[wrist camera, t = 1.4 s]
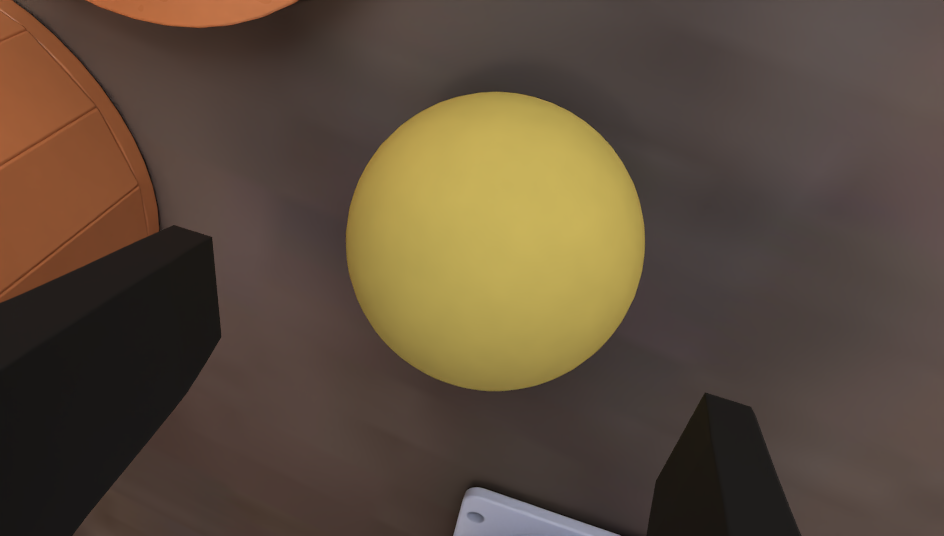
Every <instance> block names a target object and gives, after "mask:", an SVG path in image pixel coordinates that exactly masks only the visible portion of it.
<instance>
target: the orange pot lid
mask: <svg viewBox="0 0 944 536" xmlns="http://www.w3.org/2000/svg"><path fill="white" fill-rule="evenodd" d="M86 1H88V2H90V3H92V4H95V5H97V6H99V7H101V8H104V9H107V10H110V11H113V12H116V13H118V14H121V15H124V16H127V17H130V18H133V19H137V20H142V21H147V22H151V23H156V24H161V25H166V26H178V27H193V28H206V27H217V26H229V25H235V24H239V23H243V22H247V21H251V20H254V19H258V18H262V17H265V16H267V15H269V14H272V13H274V12H276V11H278V10H281V9H283V8H285V7H287V6H289V5H292V4H294V3H295V2H297V1H298V0H86Z"/></svg>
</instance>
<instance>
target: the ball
mask: <svg viewBox="0 0 944 536" xmlns="http://www.w3.org/2000/svg"><path fill="white" fill-rule="evenodd" d="M644 252H645V230H644V221H643V216H642V211H641V206H640V201H639V198H638V195H637V192H636V189H635V186H634V183H633V181H632V180H631V178H630V176H629V174H628V172H627V170H626V168H625V166H624V164H623V163H622V161H621V159H620V158H619V157H618V155H617V154H616V152H615V151H614V150H613V148H612V147H611V146H610V145H609V143H608V142H607V141H606V140H605V139H604V138H603V137H602V136H601V135H600V134H599V133H598V132H597V131H596V130H595V129H593V128H592V127H591V126H590V125H589V124H587V123H586V122H585V121H583V120H582V119H580V118H579V117H577V116H576V115H574V114H573V113H571V112H570V111H568V110H566V109H563V108H561V107H559V106H557V105H555V104H553V103H551V102H548V101H545V100H542V99H539V98H536V97H532V96H527V95H523V94H518V93H508V92H480V93H475V94H469V95H464V96H459V97H455V98H452V99H449V100H446V101H443V102H440V103H438V104H436V105H434V106H432V107H430V108H428V109H426V110H424V111H422V112H420V113H418V114H417V115H415V116H413V117H412V118H411V119H409V120H408V121H406V122H405V123H404V124H402V125H401V126H400V127H399V128H398V129H397V130H396V131H395V132H394V133H393V134H392V135H391V136H390V137H389V138H387V139H386V140H385V141H384V142H383V143H382V144H381V146H380V147H379V148H378V150H377V151H376V153H375V154H374V155H373V157H372V158H371V160H370V161H369V163H368V164H367V166H366V167H365V169H364V171H363V173H362V175H361V177H360V179H359V181H358V184H357V187H356V189H355V192H354V195H353V198H352V201H351V205H350V208H349V215H348V222H347V230H346V254H347V264H348V269H349V275H350V278H351V281H352V285H353V288H354V291H355V294H356V297H357V300H358V302H359V304H360V306H361V308H362V310H363V312H364V314H365V315H366V317H367V319H368V320H369V322H370V324H371V325H372V327H373V328H374V330H375V331H376V332H377V334H378V335H379V336H380V337H381V339H382V340H383V341H384V342H385V343H386V344H387V345H388V346H389V347H390V348H391V349H392V350H393V351H394V352H395V353H396V354H397V355H399V356H400V357H401V358H402V359H404V360H405V361H406V362H408V363H409V364H410V365H412V366H413V367H415V368H417V369H418V370H420V371H422V372H424V373H425V374H427V375H429V376H431V377H434V378H436V379H438V380H441V381H443V382H446V383H449V384H452V385H456V386H459V387H463V388H469V389H474V390H483V391H507V390H515V389H522V388H527V387H532V386H536V385H539V384H542V383H545V382H547V381H550V380H553V379H555V378H557V377H559V376H561V375H563V374H565V373H567V372H569V371H571V370H573V369H574V368H576V367H577V366H578V365H580V364H581V363H583V362H584V361H585V360H587V359H588V358H589V357H591V356H592V355H593V354H594V353H596V352H597V351H598V350H599V349H600V348H601V347H602V346H603V345H604V344H605V342H606V341H607V340H608V339H609V338H610V337H611V335H612V334H613V333H614V332H615V330H616V329H617V327H618V326H619V325H620V323H621V322H622V320H623V318H624V316H625V315H626V313H627V311H628V309H629V307H630V305H631V303H632V301H633V299H634V297H635V293H636V290H637V287H638V284H639V280H640V277H641V273H642V268H643V261H644Z"/></svg>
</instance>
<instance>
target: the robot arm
mask: <svg viewBox="0 0 944 536" xmlns="http://www.w3.org/2000/svg"><path fill="white" fill-rule="evenodd" d="M220 338H221V328H220V317H219V307H218V296H217V285H216V275H215V264H214V254H213V243H212V237H210V236H207V235H204V234H200V233H197V232H194V231H191V230H188V229H185V228H181V227H178V226H175V225H173V226H171V227H169V228H166V229H164V230H161V231H159V232H157V233H154V234H152V235H150V236H148V237H145V238H143V239H141V240H139V241H136V242H134V243H132V244H130V245H128V246H126V247H123V248H121V249H119V250H117V251H115V252H113V253H111V254H108V255H106V256H104V257H102V258H100V259H98V260H95V261H93V262H91V263H89V264H87V265H85V266H83V267H80V268H78V269H76V270H74V271H71V272H69V273H67V274H65V275H63V276H60V277H58V278H56V279H54V280H52V281H49V282H47V283H45V284H43V285H41V286H38V287H36V288H34V289H32V290H29V291H27V292H25V293H23V294H20V295H18V296H16V297H13V298H11V299H9V300H6V301H4V302H1V303H0V536H72V535H73V534H74V532H75V531H76V530H77V528H78V527H79V526H80V524H81V523H82V522H83V520H84V519H85V518H86V516H87V515H88V514H89V513H90V512H91V510H92V509H93V508H94V507H95V505H96V504H97V503H98V502H99V501H100V499H101V498H102V497H103V496H104V494H105V493H106V492H107V491H108V490H109V488H110V487H111V486H112V485H113V483H114V482H115V481H116V480H117V479H118V477H119V476H120V475H121V474H122V472H123V471H124V470H125V469H126V468H127V466H128V465H129V464H130V463H131V461H132V460H133V459H134V458H135V457H136V455H137V454H138V453H139V452H140V451H141V449H142V448H143V447H144V446H145V444H146V443H147V442H148V441H149V440H150V438H151V437H152V436H153V435H154V433H155V432H156V431H157V430H158V428H159V427H160V426H161V425H162V423H163V422H164V421H165V420H166V418H167V417H168V416H169V415H170V414H171V412H172V411H173V410H174V409H175V407H176V406H177V405H178V403H179V402H180V401H181V400H182V398H183V397H184V396H185V395H186V393H187V392H188V390H189V389H190V387H191V385H192V384H193V382H194V381H195V379H196V378H197V376H198V375H199V373H200V371H201V370H202V368H203V367H204V365H205V363H206V362H207V360H208V358H209V357H210V355H211V353H212V351H213V350H214V348H215V346H216V345H217V343H218V341H219V340H220ZM453 536H621V535H618V534H615V533H612V532H610V531H607V530H604V529H601V528H598V527H595V526H592V525H589V524H586V523H583V522H580V521H578V520H575V519H572V518H569V517H566V516H563V515H560V514H557V513H554V512H551V511H549V510H546V509H543V508H540V507H537V506H534V505H531V504H528V503H525V502H522V501H519V500H517V499H514V498H511V497H508V496H505V495H502V494H499V493H496V492H493V491H490V490H488V489H485V488H480V487H472V488H470V489H468V490H467V491H466V492H465V495H464V498H463V501H462V505H461V508H460V512H459V516H458V520H457V523H456V527H455V531H454V535H453ZM647 536H801V534H800V531H799V529H798V527H797V524H796V522H795V519H794V517H793V514H792V512H791V509H790V507H789V504H788V502H787V499H786V497H785V494H784V491H783V489H782V486H781V484H780V481H779V479H778V476H777V473H776V471H775V468H774V465H773V463H772V460H771V457H770V455H769V452H768V449H767V446H766V444H765V441H764V438H763V435H762V432H761V430H760V427H759V424H758V421H757V418H756V416H755V414H754V412H753V410H752V408H751V407H749V406H746V405H743V404H740V403H737V402H733V401H730V400H727V399H724V398H721V397H718V396H714V395H711V394H708V393H705V394H704V395H703V397H702V399H701V401H700V403H699V404H698V406H697V408H696V410H695V412H694V413H693V415H692V417H691V419H690V421H689V422H688V424H687V426H686V428H685V430H684V431H683V433H682V435H681V437H680V439H679V440H678V442H677V444H676V446H675V448H674V449H673V451H672V453H671V455H670V457H669V458H668V460H667V462H666V464H665V466H664V467H663V469H662V471H661V473H660V475H659V477H658V478H657V480H656V484H655V489H654V495H653V501H652V506H651V512H650V518H649V524H648V530H647Z"/></svg>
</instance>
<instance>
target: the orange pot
mask: <svg viewBox="0 0 944 536" xmlns="http://www.w3.org/2000/svg"><path fill="white" fill-rule="evenodd" d="M157 232H159V220H158V208H157V203H156V199H155V194H154V189H153V185H152V182H151V179H150V176H149V174H148V171H147V168H146V165H145V162H144V160H143V158H142V155H141V153H140V151H139V149H138V147H137V145H136V142H135V140H134V138H133V136H132V135H131V133H130V131H129V129H128V128H127V126H126V124H125V122H124V121H123V119H122V117H121V116H120V114H119V112H118V111H117V109H116V108H115V106H114V105H113V103H112V102H111V101H110V99H109V98H108V96H107V95H106V93H105V92H104V91H103V89H102V88H101V86H100V85H99V84H98V83H97V81H96V80H95V79H94V78H93V76H92V75H91V74H90V73H89V72H88V70H87V69H86V68H85V67H84V66H83V64H82V63H81V62H80V61H79V60H78V59H77V58H76V57H75V56H74V55H73V53H72V52H71V51H70V50H69V49H68V48H67V47H66V46H65V45H64V44H63V43H62V42H61V41H60V40H59V39H58V38H57V37H56V36H55V35H54V34H53V33H52V32H50V31H49V30H48V29H47V28H46V27H45V26H44V25H42V24H41V23H40V22H39V21H38V20H37V19H36V18H34V17H33V16H32V15H31V14H30V13H29V12H27V11H26V10H25V9H23V8H22V7H20V6H19V5H18V4H16V3H15V2H14V1H12V0H0V303H1V302H4V301H6V300H9V299H11V298H13V297H16V296H18V295H20V294H23V293H25V292H27V291H29V290H32V289H34V288H36V287H38V286H41V285H43V284H45V283H47V282H49V281H52V280H54V279H56V278H58V277H60V276H63V275H65V274H67V273H69V272H71V271H74V270H76V269H78V268H80V267H83V266H85V265H87V264H89V263H91V262H93V261H95V260H98V259H100V258H102V257H104V256H106V255H108V254H111V253H113V252H115V251H117V250H119V249H121V248H123V247H126V246H128V245H130V244H132V243H134V242H136V241H139V240H141V239H143V238H145V237H148V236H150V235H152V234H154V233H157Z"/></svg>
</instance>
